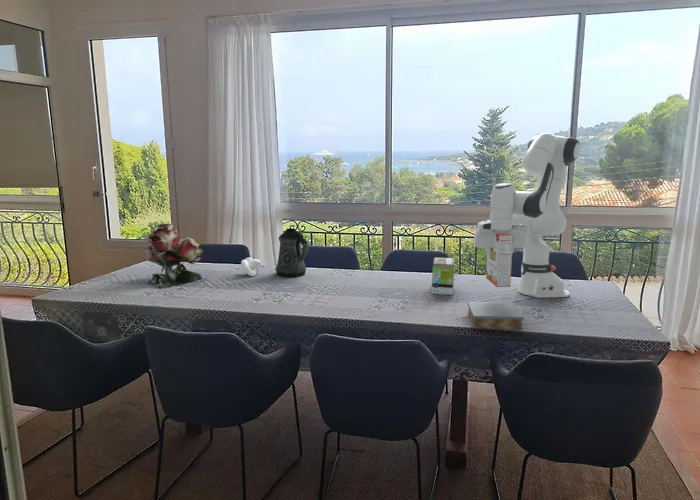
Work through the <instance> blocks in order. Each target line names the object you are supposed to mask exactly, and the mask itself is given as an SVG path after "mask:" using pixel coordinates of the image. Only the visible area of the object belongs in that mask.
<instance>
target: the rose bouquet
mask: <svg viewBox="0 0 700 500" xmlns="http://www.w3.org/2000/svg"><path fill="white" fill-rule="evenodd" d="M154 228H155V230H153V229H152V230H151V233H152V234H149V235H148V236H147V241H146V242H147V243H148V244H149V245H148V246H147V248H145V249H144V250H145V253H146V256H147V260H146V261H147V262H150V263H152V264H156V265H158V266H160V267H162V268H161V271H160V272H161V273H152V274H151V276H152V278H151V279H150V280H148V282H147V284H155V286H157V287H159V288H161V289H169V288H173V287H178V286H182V285H185V284H187V283H190V282H194V281H199V279H202V275H201V274H200V273H197V272H196V271H191V270H188V268H187V267H186V266H185V265H184V264H183V262H185V263H188V264H190V265H192V266H194V265H197V266H198V264H197V263H194V262H199V261H200V260H201V255H202V254H203V253H204V250H203V249H202V248H201V247H199V246H200V243H197V242H196V240H195V239H194V238H191V237H185V238H181V239H179V238H180V233H178V231H177V229H175V228H174V225H173V224H171V223H169V222H168V223H167V222H165V223H162V222H161V223H159V224H157V225H155V227H154ZM174 266H176V267H175V268H174V269H173V267H174ZM163 272H164V273H163Z"/></svg>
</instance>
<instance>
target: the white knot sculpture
mask: <svg viewBox="0 0 700 500" xmlns="http://www.w3.org/2000/svg"><path fill="white" fill-rule="evenodd" d="M240 262H241V263H240V266H239V273H240V275H241V276H246V275H248V276H249V277H255V276H256V275H257V273H259V271H260V270H261V269H262V262H261V260H259V259H258V258H254V259H253V258H252V257H246V258H245V259H242V260H241V261H240Z"/></svg>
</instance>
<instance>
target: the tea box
mask: <svg viewBox="0 0 700 500" xmlns="http://www.w3.org/2000/svg"><path fill="white" fill-rule="evenodd" d="M431 274H432V275H431V276H432V277H431V294H433V295H443V296H444V295H446V296H452V295H453V294H454V293H453V292H454V282H455V281H454V279H455V258H454V257H434V258H433V265H432V273H431Z"/></svg>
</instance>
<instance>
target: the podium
mask: <svg viewBox="0 0 700 500" xmlns="http://www.w3.org/2000/svg"><path fill="white" fill-rule="evenodd" d="M467 306H468V313H467V314H468V316H469V319H470V321H471V323H472V325H473V328H474V329H486V330H487V329H488V330H491V329H492V330H493V329H494V330H522V324H523V323H522V322H523V321H524V319H525V317H524V315H523V314H522V313H521V312H520V310H519V309H518V307H517V306H516V305H515V303H514V302H507V301H506V302H504V301H503V302H501V301H500V302H499V301H498V302H497V301H467Z"/></svg>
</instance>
